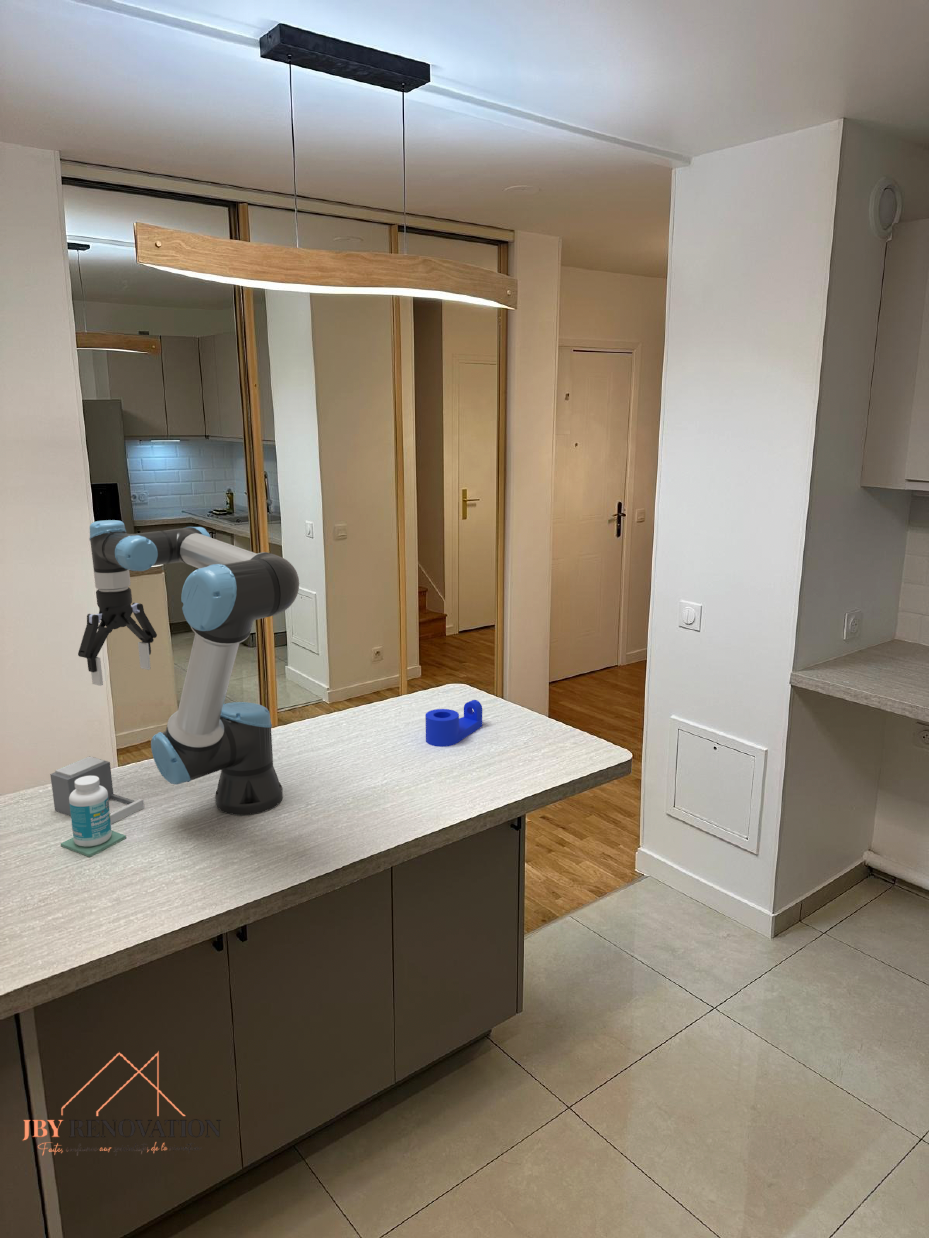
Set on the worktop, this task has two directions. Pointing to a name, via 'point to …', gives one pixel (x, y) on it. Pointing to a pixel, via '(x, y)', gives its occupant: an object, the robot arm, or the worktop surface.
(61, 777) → the grey open frame
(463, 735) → the bracket
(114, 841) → the mat
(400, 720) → the worktop surface
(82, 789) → the pill bottle
